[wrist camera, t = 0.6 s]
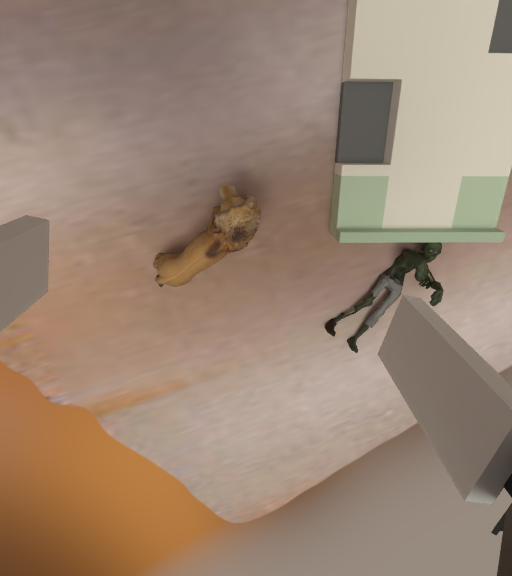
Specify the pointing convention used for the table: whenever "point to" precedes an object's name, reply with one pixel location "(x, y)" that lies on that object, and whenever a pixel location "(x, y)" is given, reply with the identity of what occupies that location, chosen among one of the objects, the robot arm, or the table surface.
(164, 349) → the table surface
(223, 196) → the lion figurine
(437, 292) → the zombie figurine
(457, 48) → the trap board
